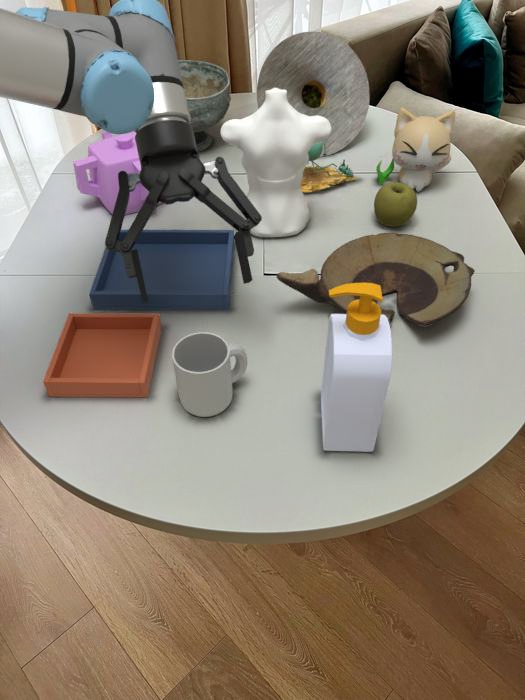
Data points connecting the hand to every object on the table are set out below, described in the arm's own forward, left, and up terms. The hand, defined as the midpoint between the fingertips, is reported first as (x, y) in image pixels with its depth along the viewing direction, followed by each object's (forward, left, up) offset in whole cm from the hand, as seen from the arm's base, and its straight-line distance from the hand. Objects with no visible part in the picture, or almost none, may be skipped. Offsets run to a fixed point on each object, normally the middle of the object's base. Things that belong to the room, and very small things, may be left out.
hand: (197, 292), depth 73 cm
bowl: (-9, +67, -13) cm, 69 cm away
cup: (+2, -7, -13) cm, 14 cm away
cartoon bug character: (+18, +49, -13) cm, 54 cm away
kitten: (+38, +49, -13) cm, 63 cm away
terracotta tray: (-14, -1, -12) cm, 19 cm away
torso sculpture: (+10, +34, -13) cm, 38 cm away
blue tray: (-8, +19, -12) cm, 24 cm away
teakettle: (-18, +45, -13) cm, 50 cm away
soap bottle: (+19, -12, -13) cm, 26 cm away
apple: (+32, +35, -13) cm, 49 cm away
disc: (+18, +70, -13) cm, 74 cm away
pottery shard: (+26, +14, -13) cm, 32 cm away
